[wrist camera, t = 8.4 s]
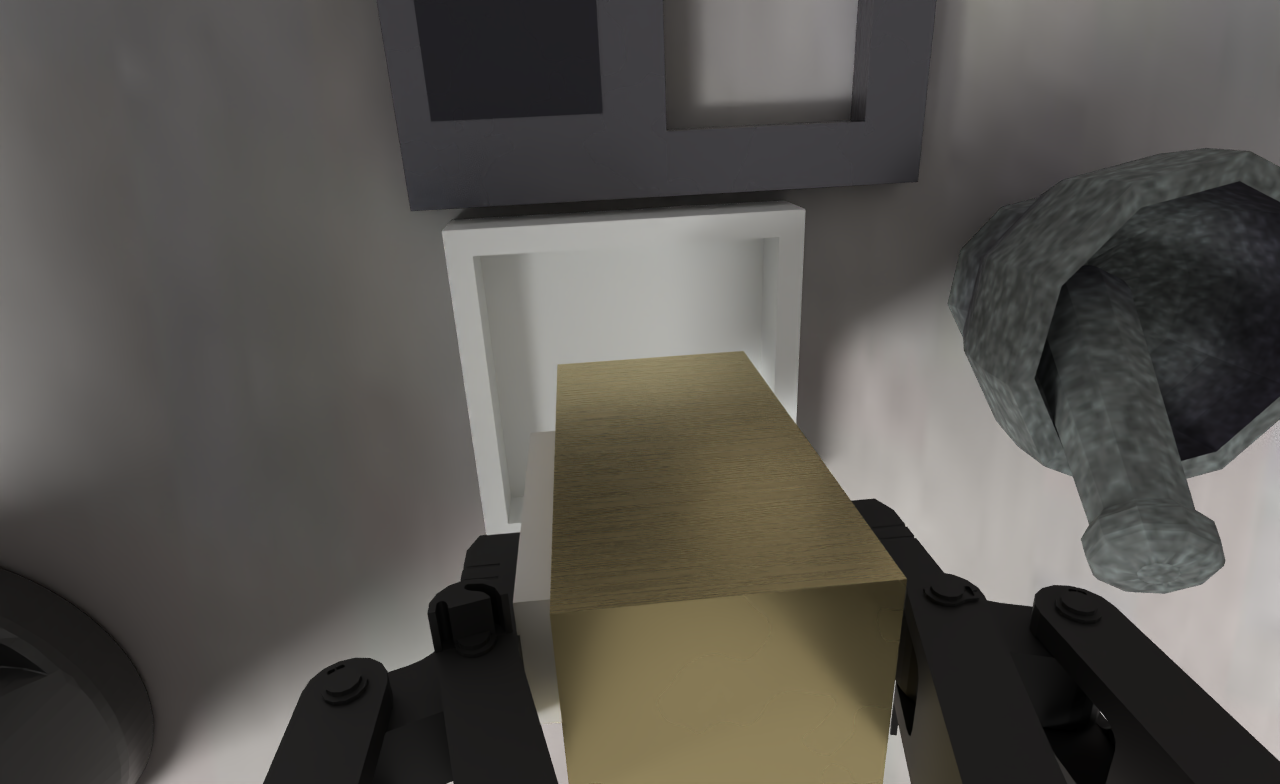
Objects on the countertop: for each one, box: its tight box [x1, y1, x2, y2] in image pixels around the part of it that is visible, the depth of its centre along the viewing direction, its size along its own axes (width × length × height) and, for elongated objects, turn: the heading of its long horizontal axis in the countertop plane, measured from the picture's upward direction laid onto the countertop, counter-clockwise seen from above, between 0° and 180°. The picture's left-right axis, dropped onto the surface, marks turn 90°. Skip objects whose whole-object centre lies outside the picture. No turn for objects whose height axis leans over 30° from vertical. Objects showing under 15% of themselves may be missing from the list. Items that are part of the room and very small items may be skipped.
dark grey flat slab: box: [377, 0, 936, 211], centre depth 21 cm, size 16×10×1 cm, turn 92°
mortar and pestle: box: [948, 148, 1280, 594], centre depth 21 cm, size 11×9×12 cm
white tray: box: [442, 200, 806, 535], centre depth 25 cm, size 11×11×2 cm
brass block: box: [550, 351, 907, 784], centre depth 15 cm, size 5×5×10 cm
